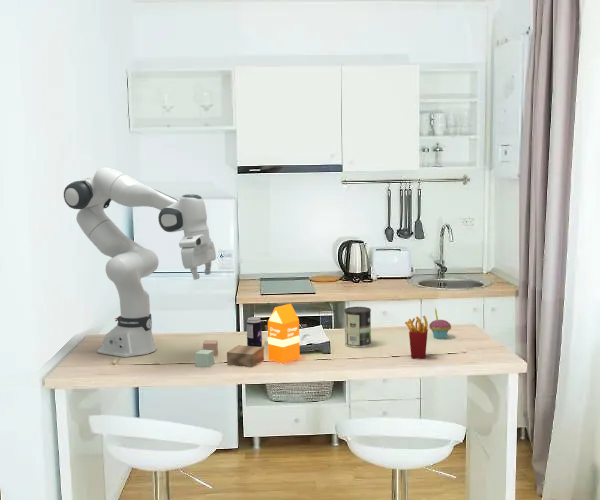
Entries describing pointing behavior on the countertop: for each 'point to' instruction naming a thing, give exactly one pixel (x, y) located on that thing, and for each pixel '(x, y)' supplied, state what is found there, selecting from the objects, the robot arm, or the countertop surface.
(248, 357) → the walnut block
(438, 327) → the cupcake
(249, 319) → the beverage can
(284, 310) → the orange juice
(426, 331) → the french fries
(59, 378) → the countertop surface
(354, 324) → the coffee can
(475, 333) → the countertop surface
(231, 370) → the countertop surface
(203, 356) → the sage cube
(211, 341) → the terracotta cube
